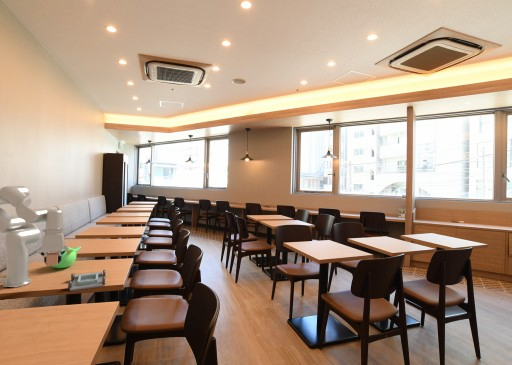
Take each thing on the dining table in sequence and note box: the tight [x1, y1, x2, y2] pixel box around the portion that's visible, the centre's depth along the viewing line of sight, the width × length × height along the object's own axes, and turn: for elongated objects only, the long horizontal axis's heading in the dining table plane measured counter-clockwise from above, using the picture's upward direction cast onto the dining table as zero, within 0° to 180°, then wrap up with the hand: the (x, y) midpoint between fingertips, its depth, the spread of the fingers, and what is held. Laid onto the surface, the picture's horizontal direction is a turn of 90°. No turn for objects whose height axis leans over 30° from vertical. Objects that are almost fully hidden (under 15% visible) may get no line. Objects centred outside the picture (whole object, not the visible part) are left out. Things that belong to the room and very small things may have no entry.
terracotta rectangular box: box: [45, 252, 59, 267], centre depth 155 cm, size 5×7×6 cm
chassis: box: [67, 269, 106, 292], centre depth 163 cm, size 18×21×4 cm
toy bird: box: [51, 246, 82, 269], centre depth 190 cm, size 18×17×15 cm
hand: (52, 262), depth 155 cm, fingers closed on terracotta rectangular box, 5 cm apart
